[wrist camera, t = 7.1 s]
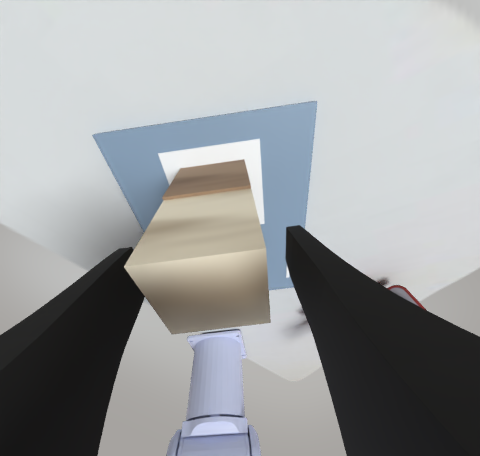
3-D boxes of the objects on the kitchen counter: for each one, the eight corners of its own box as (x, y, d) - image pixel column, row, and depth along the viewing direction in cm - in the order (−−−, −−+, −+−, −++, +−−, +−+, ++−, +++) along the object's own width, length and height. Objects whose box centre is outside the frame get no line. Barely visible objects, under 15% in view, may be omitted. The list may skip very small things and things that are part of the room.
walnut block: (250, 214, 16) (257, 251, 12) (196, 221, 16) (187, 260, 12) (244, 159, 13) (250, 185, 9) (180, 168, 13) (162, 197, 9)
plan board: (297, 283, 22) (299, 287, 22) (181, 297, 23) (180, 301, 22) (314, 101, 12) (317, 101, 11) (96, 133, 12) (91, 135, 12)
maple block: (257, 253, 12) (270, 322, 8) (188, 262, 12) (171, 334, 9) (251, 188, 9) (266, 248, 6) (163, 200, 10) (123, 267, 6)
